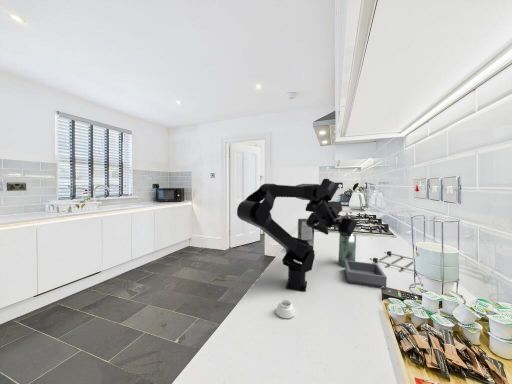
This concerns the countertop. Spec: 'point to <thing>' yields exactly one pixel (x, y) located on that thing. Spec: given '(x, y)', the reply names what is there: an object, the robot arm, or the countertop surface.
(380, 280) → the tray
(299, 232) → the coffee box
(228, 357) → the countertop surface
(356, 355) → the countertop surface
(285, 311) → the white jar
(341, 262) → the spout can
